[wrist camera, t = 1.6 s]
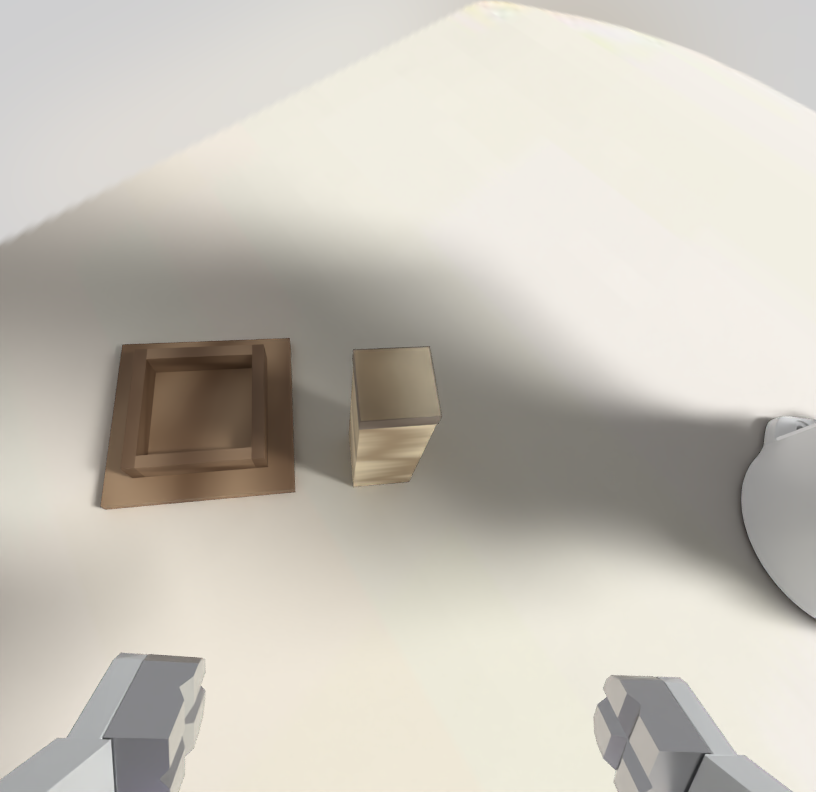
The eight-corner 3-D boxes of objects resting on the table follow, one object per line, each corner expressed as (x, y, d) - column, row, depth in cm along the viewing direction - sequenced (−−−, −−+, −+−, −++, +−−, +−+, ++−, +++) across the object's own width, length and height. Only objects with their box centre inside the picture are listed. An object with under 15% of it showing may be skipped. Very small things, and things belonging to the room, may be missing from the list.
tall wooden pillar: (402, 429, 37) (429, 346, 26) (409, 482, 35) (441, 416, 24) (348, 433, 36) (353, 349, 25) (352, 487, 34) (359, 422, 24)
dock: (290, 343, 39) (287, 323, 36) (295, 492, 34) (291, 480, 31) (126, 350, 37) (111, 329, 34) (105, 509, 32) (86, 498, 29)
